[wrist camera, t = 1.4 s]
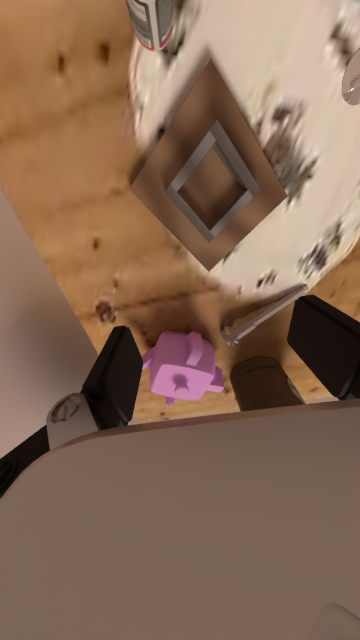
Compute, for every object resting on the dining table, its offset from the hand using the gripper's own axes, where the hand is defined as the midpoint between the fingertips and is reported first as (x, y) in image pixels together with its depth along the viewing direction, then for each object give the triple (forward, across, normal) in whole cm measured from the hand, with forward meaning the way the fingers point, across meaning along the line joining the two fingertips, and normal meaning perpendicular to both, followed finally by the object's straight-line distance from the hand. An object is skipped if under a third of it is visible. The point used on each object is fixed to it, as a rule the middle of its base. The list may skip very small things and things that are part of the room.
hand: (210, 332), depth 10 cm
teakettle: (+26, +6, +25) cm, 36 cm away
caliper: (+26, -15, +16) cm, 34 cm away
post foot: (+25, -5, -8) cm, 27 cm away
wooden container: (+26, -15, +38) cm, 48 cm away
